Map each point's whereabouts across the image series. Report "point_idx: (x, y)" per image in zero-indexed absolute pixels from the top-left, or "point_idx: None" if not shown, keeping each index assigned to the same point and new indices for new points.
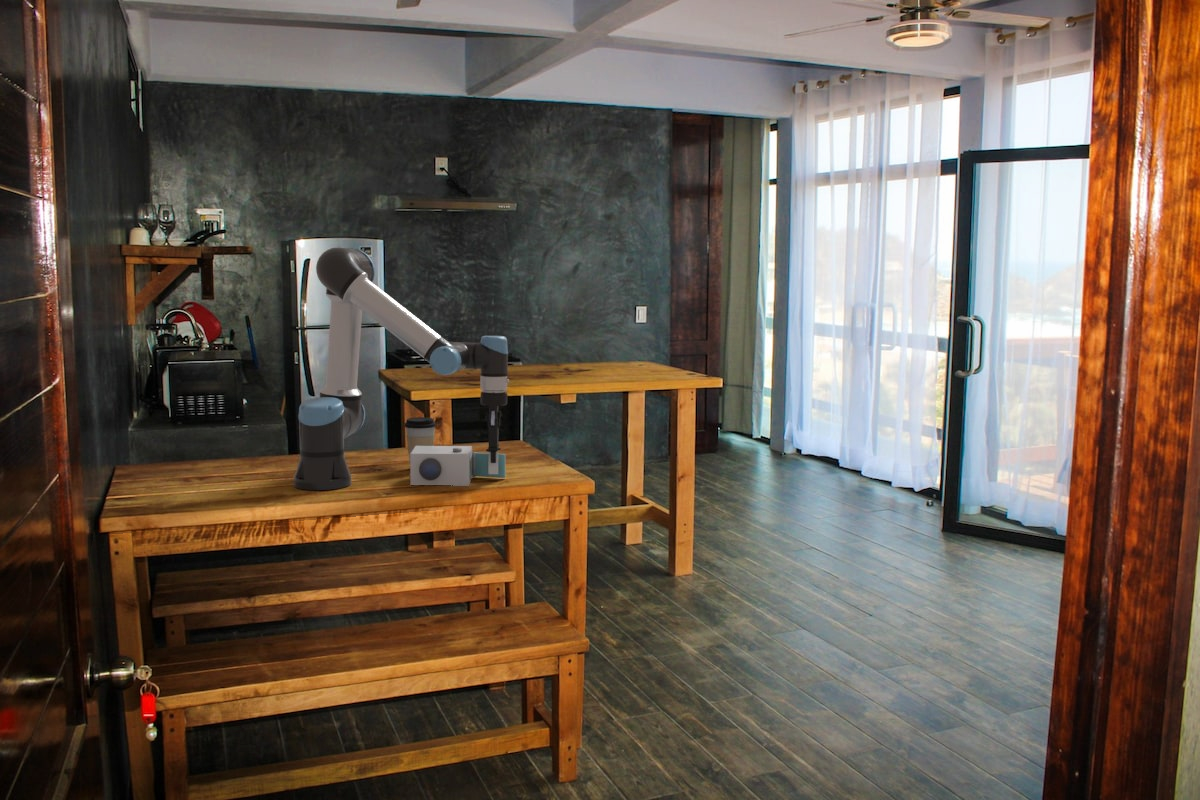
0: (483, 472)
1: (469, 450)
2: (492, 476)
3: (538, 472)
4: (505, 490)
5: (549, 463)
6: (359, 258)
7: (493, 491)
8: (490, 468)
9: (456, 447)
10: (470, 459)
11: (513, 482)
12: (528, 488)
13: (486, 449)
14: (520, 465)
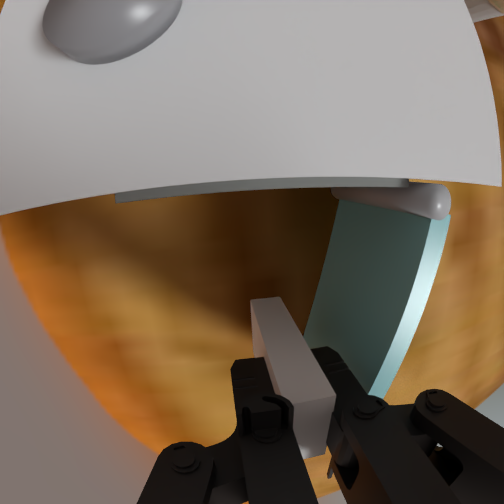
0: (337, 253)
1: (207, 168)
2: (316, 299)
3: None
4: (74, 370)
5: (484, 395)
6: None
7: (43, 326)
8: (257, 329)
9: (415, 5)
10: (135, 198)
11: (231, 393)
12: (134, 436)
13: (260, 413)
14: (494, 337)
